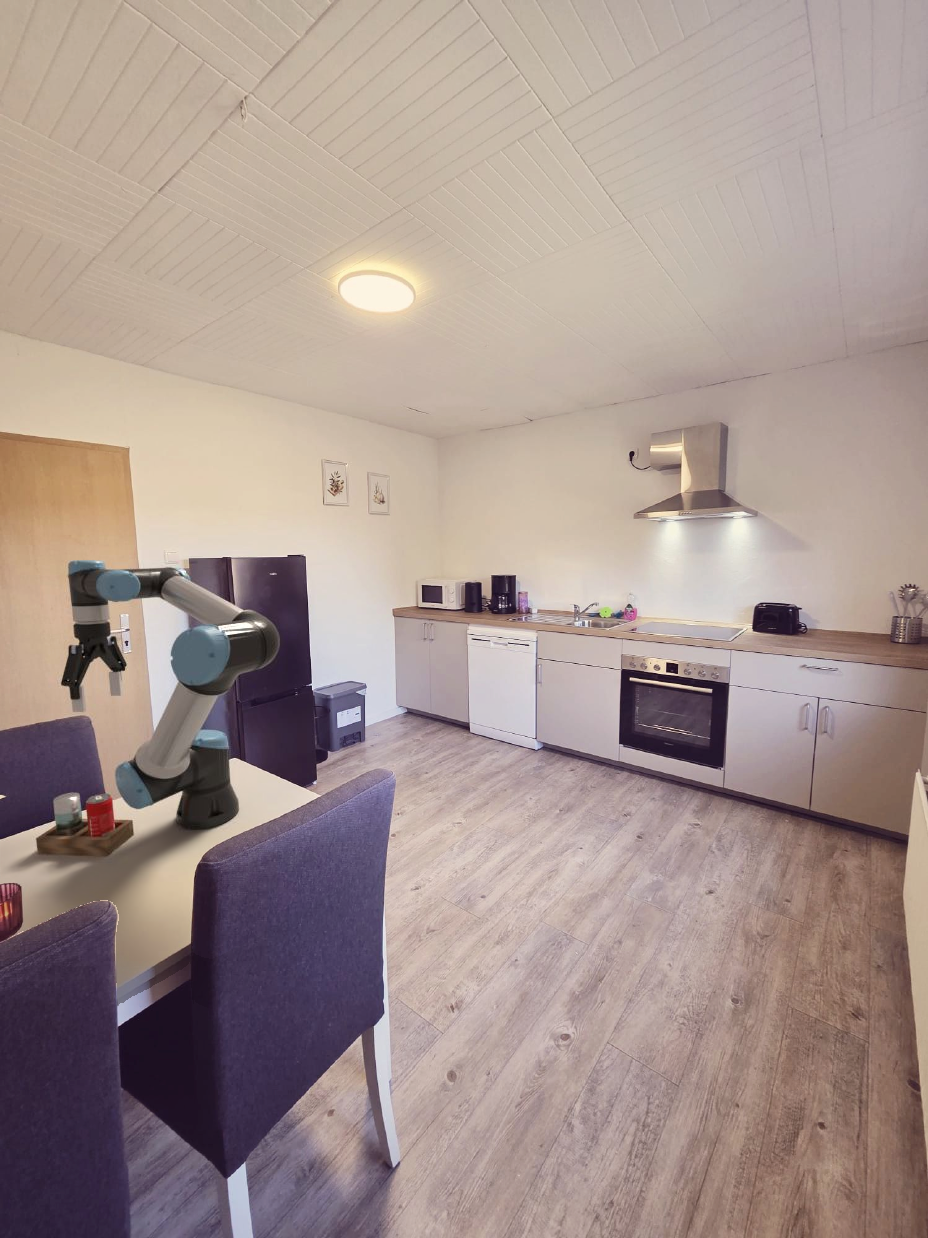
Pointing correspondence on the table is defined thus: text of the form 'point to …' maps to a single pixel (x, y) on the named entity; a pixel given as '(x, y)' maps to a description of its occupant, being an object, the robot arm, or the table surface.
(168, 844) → the table surface
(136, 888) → the table surface
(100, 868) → the table surface
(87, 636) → the robot arm
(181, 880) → the table surface
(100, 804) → the beverage can
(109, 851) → the holder
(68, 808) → the transparent cylindrical container
